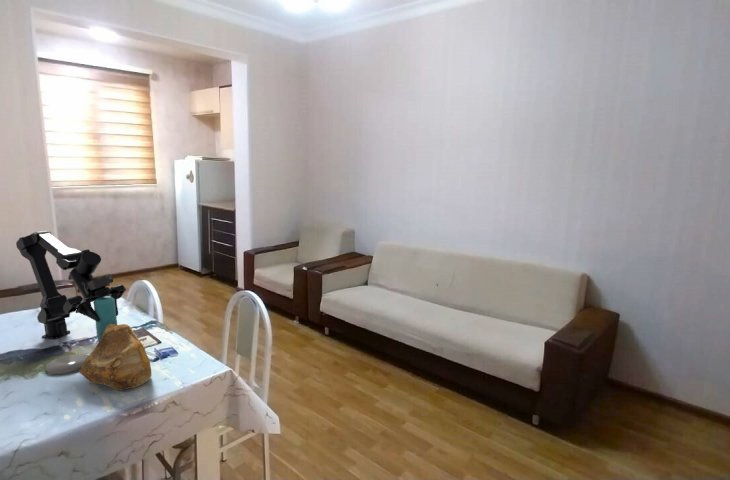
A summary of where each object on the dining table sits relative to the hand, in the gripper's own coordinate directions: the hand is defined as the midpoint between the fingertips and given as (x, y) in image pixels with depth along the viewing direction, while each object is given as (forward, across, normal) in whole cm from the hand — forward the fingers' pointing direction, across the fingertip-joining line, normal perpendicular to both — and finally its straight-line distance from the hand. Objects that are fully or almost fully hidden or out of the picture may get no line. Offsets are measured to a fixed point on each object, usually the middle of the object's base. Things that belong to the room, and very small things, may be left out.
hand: (108, 318), depth 142 cm
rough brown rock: (+22, -10, -3) cm, 24 cm away
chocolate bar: (+8, +12, +12) cm, 19 cm away
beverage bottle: (+6, 0, +8) cm, 10 cm away
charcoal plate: (+6, -12, +12) cm, 18 cm away
